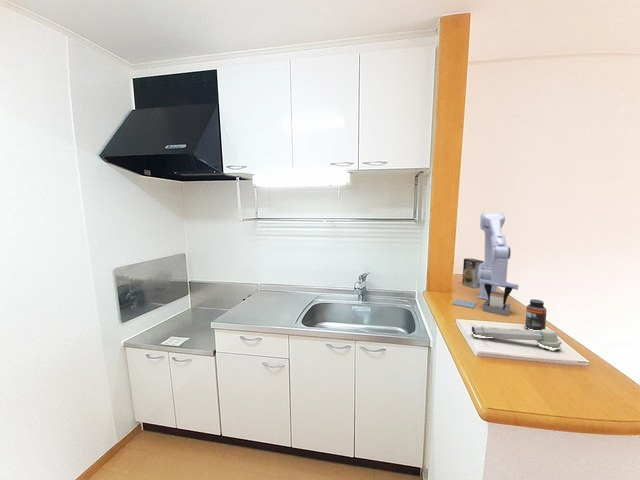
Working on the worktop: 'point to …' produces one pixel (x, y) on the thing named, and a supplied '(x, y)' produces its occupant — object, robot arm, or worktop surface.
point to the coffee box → (471, 273)
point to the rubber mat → (464, 303)
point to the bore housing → (496, 309)
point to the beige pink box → (496, 299)
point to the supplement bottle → (535, 315)
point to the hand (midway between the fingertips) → (496, 302)
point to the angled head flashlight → (520, 335)
